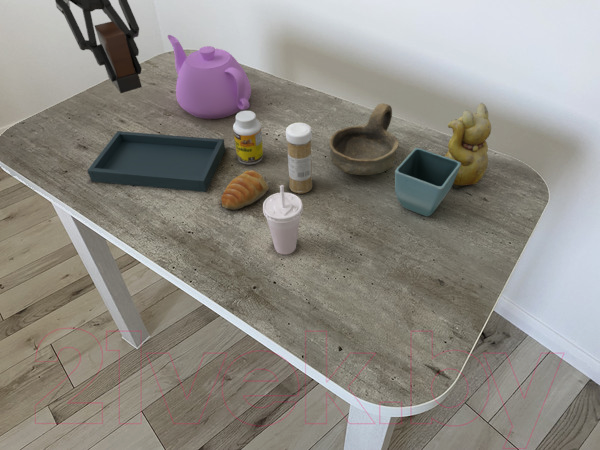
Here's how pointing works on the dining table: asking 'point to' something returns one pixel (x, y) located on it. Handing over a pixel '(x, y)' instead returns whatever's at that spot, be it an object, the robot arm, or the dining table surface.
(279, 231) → the smoothie
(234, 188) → the pastry
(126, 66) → the eraser
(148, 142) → the tray
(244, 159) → the supplement bottle
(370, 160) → the bowl
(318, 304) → the dining table surface
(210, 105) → the teapot
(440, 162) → the flower pot
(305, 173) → the spice jar
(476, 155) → the decorative figurine
